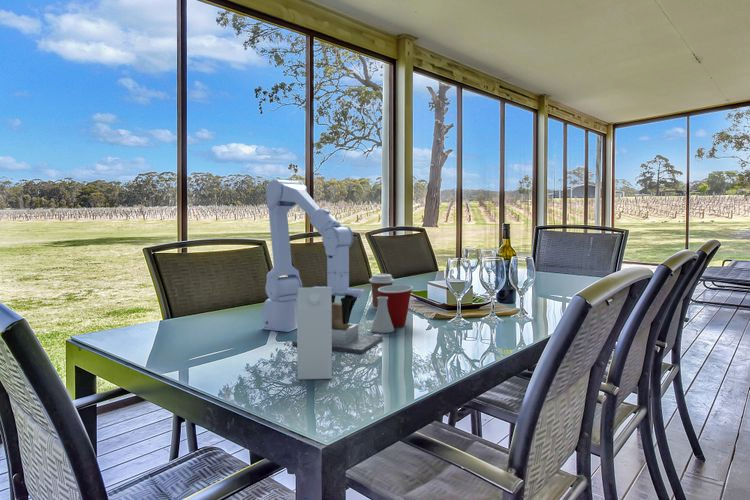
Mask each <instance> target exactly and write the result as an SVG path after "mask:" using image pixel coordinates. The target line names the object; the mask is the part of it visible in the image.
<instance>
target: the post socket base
mask: <svg viewBox="0 0 750 500" xmlns="http://www.w3.org/2000/svg"><path fill="white" fill-rule="evenodd" d="M383 339H384V337H383V336H379V335H373V334H371V335H370V334H360V333H359V324H358V323H350V322H349V323H348V328H347V329H345V330H339V329H332V351H337V352H344V353H345V352H346V353H353V354H358V355H359V354H360V355H362V354H364V353H365V352H368V351H369V350H370V349H371V348H373V347H375V346H376V345H377V344H379V343H380V342H382V341H383ZM291 342H292V343H291V346H296V347H297V338H296V339H295V340H292V341H291Z"/></svg>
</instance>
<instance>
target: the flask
mask: <svg viewBox="0 0 750 500" xmlns="http://www.w3.org/2000/svg"><path fill="white" fill-rule="evenodd" d="M377 299H378V308H377V309H376V312H375V316H374V319H373V321H372V323H371V326H370V332H372V333H378V334H390V333H393V332H394V331H395V327H393V324H392V322H391V319H390V315H389V312H388V308H387V300H388V297H377Z"/></svg>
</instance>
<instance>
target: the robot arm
mask: <svg viewBox="0 0 750 500" xmlns="http://www.w3.org/2000/svg"><path fill="white" fill-rule="evenodd" d="M265 194H266V204H267V205H266V206H267V209H268V215H269V216H268V219H269V228H270V238H271V239H270V241H271V250H272V260H273V261H272V263H273V267H272V268H271V270H270V271H268V273H267V274H266V275H265V276H266V282H265V287H264V289H265V294H266V295H267V297H268V298H267V299H265V301H264V302H263V307H262V315H263V316H262V321H263V324H262V327H261V330H266V331H267V330H268V331H276V332H283V333H285V332H286V333H289V332H293V331H294V330H297V300H298V288H303V282H302V280H301V278H300V271H299V270H298V269H297V268H295V267H294V266H293V263H292V252H291V251H292V250H291V241H290V230H289V229H290V228H289V218H288V213H289V212H290V211H291V210H292V209H293V208H295V207H296V206H298V207H300V209H301V210H302V211H304V212H305V213H306V214H307V215H308V217H310V218H309V223H310V224H311V226H312V227H313V228H314V230H316V231H317V232H318V233H319V235H321V241H322V245H323V246H324V252H325V254H326V262H327V263H326V268H327V269H326V270H327V273H326V275H327V277H326V278H327V280H326V282H327V283H326V285H327V286H326V287H331V302H332V303H333V302H336V296H337V297H342V298H340V301H341V303H342V309H343V324H347V323H350V322H349V321H350V319H351V318H350V317H351V315H352V311H353V308H354V306H355V305H356V304H355V303H356V302H357V300H358V299H362V298H365V289H361V288H354V287H349V286H350V273H349V271H350V250H349V249H350V247H351V246H352V245H353V242H354V233H353V231H352V229H351V227H350V226H347V225H343V224H340V221H338V219H336V218H335V217H334V216H333V215H332V214H331V211H330V209H328V208H327V209H326V208H322V207H321V208H320V207H319V206H318V204H317V203H316V202H315V200H314V199H313V198H312V197H311V195H310V194H309V193H308V188H307V186H306V185H305V183H304V182H303V181H301V180H287V179H276V178H274V179H271V180H270V181H269V183H268V185H267V186H266V188H265ZM323 287H324V286H318V285H317V286H312V287H311V288H323Z"/></svg>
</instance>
